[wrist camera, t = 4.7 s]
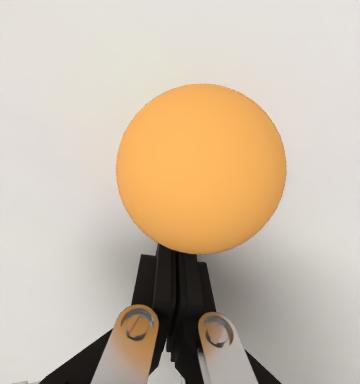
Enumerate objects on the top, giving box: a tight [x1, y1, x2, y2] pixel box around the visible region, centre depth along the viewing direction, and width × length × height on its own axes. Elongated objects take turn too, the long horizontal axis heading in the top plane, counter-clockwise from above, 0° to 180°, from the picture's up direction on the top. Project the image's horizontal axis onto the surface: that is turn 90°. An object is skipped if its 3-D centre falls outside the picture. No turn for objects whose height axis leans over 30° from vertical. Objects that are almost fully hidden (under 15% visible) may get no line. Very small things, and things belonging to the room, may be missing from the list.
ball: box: [116, 84, 286, 254], centre depth 8 cm, size 6×6×6 cm
